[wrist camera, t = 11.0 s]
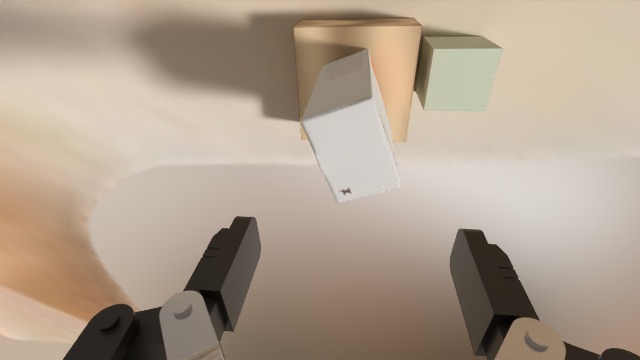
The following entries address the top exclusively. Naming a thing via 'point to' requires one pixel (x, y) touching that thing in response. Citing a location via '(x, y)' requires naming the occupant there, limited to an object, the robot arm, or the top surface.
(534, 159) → the top surface
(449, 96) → the sage cube
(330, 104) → the skincare box
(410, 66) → the block
